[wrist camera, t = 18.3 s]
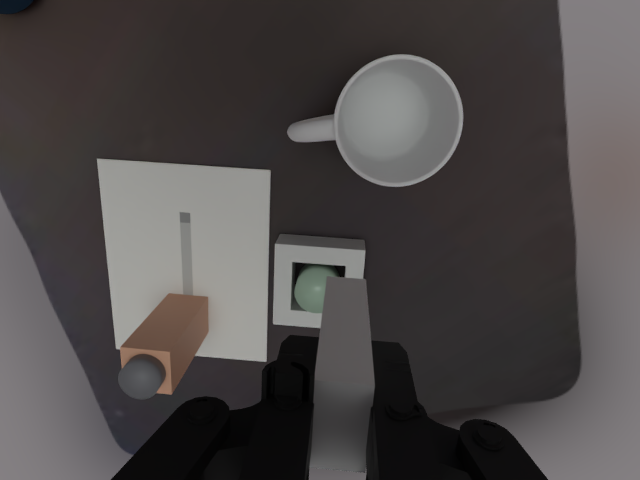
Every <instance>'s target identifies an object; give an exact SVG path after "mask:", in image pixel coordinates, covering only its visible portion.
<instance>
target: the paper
mask: <svg viewBox="0 0 640 480" xmlns="http://www.w3.org/2000/svg"><path fill="white" fill-rule="evenodd" d="M97 164H98V174H99V184H100V194H101V204H102V214H103V224H104V234H105V243H106V253H107V263H108V273H109V283H110V293H111V303H112V313H113V323H114V333H115V342H116V349H120V347H121V346H122V344H123V343H124V342H125V341H126V340H127V339H128V338H129V337H130V336H131V334H132V333H133V332H134V331H135V330H136V329H137V328H138V327H139V326H140V324H141V323H142V322H143V321H144V320H145V319H146V318H147V317H148V316H149V315H150V313H151V312H152V311H153V310H154V309H155V308H156V307H157V306H158V305H159V303H160V302H161V301H162V300H163V299H164V298H165V297H166V296H167V295H168V294H169V293H172V294H183V295H194V296H205V297H208V326H209V332H208V334H207V336H206V337H205V339H204V341H203V342H202V344H201V346H200V348H199V349H198V351H197V353H196V354H195V356H204V357H216V358H227V359H239V360H251V361H263V362H266V361H267V329H268V282H269V236H270V189H271V170H266V169H251V168H236V167H221V166H206V165H191V164H176V163H161V162H146V161H131V160H116V159H101V158H98V159H97Z"/></svg>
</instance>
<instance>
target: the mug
mask: <svg viewBox="0 0 640 480" xmlns="http://www.w3.org/2000/svg"><path fill="white" fill-rule="evenodd" d="M462 127H463V107H462V103H461V98H460V96H459V93H458V90H457V88H456V87H455V85H454V83H453V81H452V80H451V79H450V77H449V76H448V75H447V74H446V73H445V72H444V71H443V70H442V69H441V68H440V67H438V66H437V65H436V64H434V63H432V62H430V61H429V60H426V59H424V58H421V57H418V56H413V55H405V54H398V55H390V56H385V57H382V58H379V59H376V60H374V61H372V62H370V63H368V64H367V65H365V66H364V67H362V68H361V69H360V70H359V71H357V72H356V73H355V74H354V75H353V76H352V77H351V79H350V80H349V81H348V82H347V84H346V85H345V87H344V88H343V90H342V92H341V94H340V96H339V98H338V101H337V104H336V108H335V113H334V114H332V115H326V116H321V117H316V118H311V119H306V120H302V121H298V122H295V123H293V124H291V125H290V126H289V128H288V130H287V134H288V136H289V138H290V139H291V140H293V141H295V142H318V141H330V140H336V143H337V146H338V149H339V151H340V153H341V155H342V157H343V158H344V160H345V162H346V163H347V164H348V165H349V166H350V168H351V169H352V170H354V171H355V172H356V173H357V174H358V175H360V176H361V177H362V178H364V179H366V180H368V181H370V182H373V183H375V184H378V185H383V186H390V187H402V186H408V185H412V184H415V183H418V182H421V181H423V180H425V179H427V178H429V177H430V176H432V175H433V174H435V173H436V172H437V171H438V170H440V169H441V168H442V167H443V166H444V165H445V164H446V162H447V161H448V160H449V159H450V157H451V156H452V154H453V152H454V151H455V149H456V147H457V145H458V142H459V139H460V136H461V132H462Z"/></svg>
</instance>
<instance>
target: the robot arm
mask: <svg viewBox="0 0 640 480" xmlns="http://www.w3.org/2000/svg"><path fill="white" fill-rule="evenodd" d="M309 467H311V468H322V469H333V470H342V471H353V472H364V473H365V468H366V469H367V475H366V480H548V479H547V478H546V476H545V475H544V474H543V473H542V472H541V470H540V469H539V468H538V466H537V465H536V464H535V463H534V461H533V460H532V459H531V457H530V456H529V455H528V454H527V452H526V451H525V450H524V449H523V447H522V446H521V445H520V444H519V443H518V441H517V440H516V438H515V437H514V436H513V435H512V434H511V433H510V432H509V431H508V430H507V429H505V428H503V427H502V426H500V425H498V424H496V423H493V422H490V421H487V420H481V419H473V420H469V421H466V422H465V423H463V424H462V425H461V427H460V430H456V429H453V428H450V427H447V426H444V425H442V424H439V423H437V422H435V421H433V420H432V419H430V418H429V417H428V416H427V413H426V411H425V409H424V407H423V406H422V405H421V404H420V403H419V402H418V401H417V396H416V392H415V387H414V383H413V378H412V373H411V369H410V364H409V360H408V355H407V352H406V351H405V350H404V348H403V347H402V346H401V345H400V344H399V343H394V342H382V341H371V333H370V322H369V310H368V298H367V287H366V279H358V278H345V277H331V276H327V279H326V287H325V295H324V303H323V311H322V319H321V327H320V335H319V337H308V336H296V335H290V336H289V337H287V338H286V339H285V340H284V341H283V342H282V343H281V347H280V350H279V354H278V358H277V360H276V361H273V362H271V363H269V364H268V365H266V366H265V368H264V369H263V371H262V399H261V401H260V402H259V403H257V404H255V405H253V406H251V407H247V408H243V409H237V410H230V411H229V406H228V405H227V404H226V403H225V402H224V401H222V400H220V399H218V398H216V397H207V396H205V397H198V398H194V399H191V400H189V401H186V402H185V403H183V404H182V405H181V406H180V407H178V408H177V409H176V410H175V411H174V413H173V414H172V415H171V416H170V417H169V418H168V419H167V420H166V421H165V422H164V423H163V424H162V425H161V426H160V428H159V429H158V430H157V431H156V432H155V433H154V434H153V435H152V436H151V437H150V438H149V439H148V440H147V442H146V443H145V444H144V445H143V446H142V447H141V448H140V449H139V450H138V451H137V452H136V453H135V454H134V455H133V457H132V458H131V459H130V460H129V461H128V462H127V463H126V464H125V465H124V466H123V467H122V468H121V470H120V471H119V472H118V473H117V474H116V475H115V476H114V477H113V478H112V479H111V480H309Z"/></svg>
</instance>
